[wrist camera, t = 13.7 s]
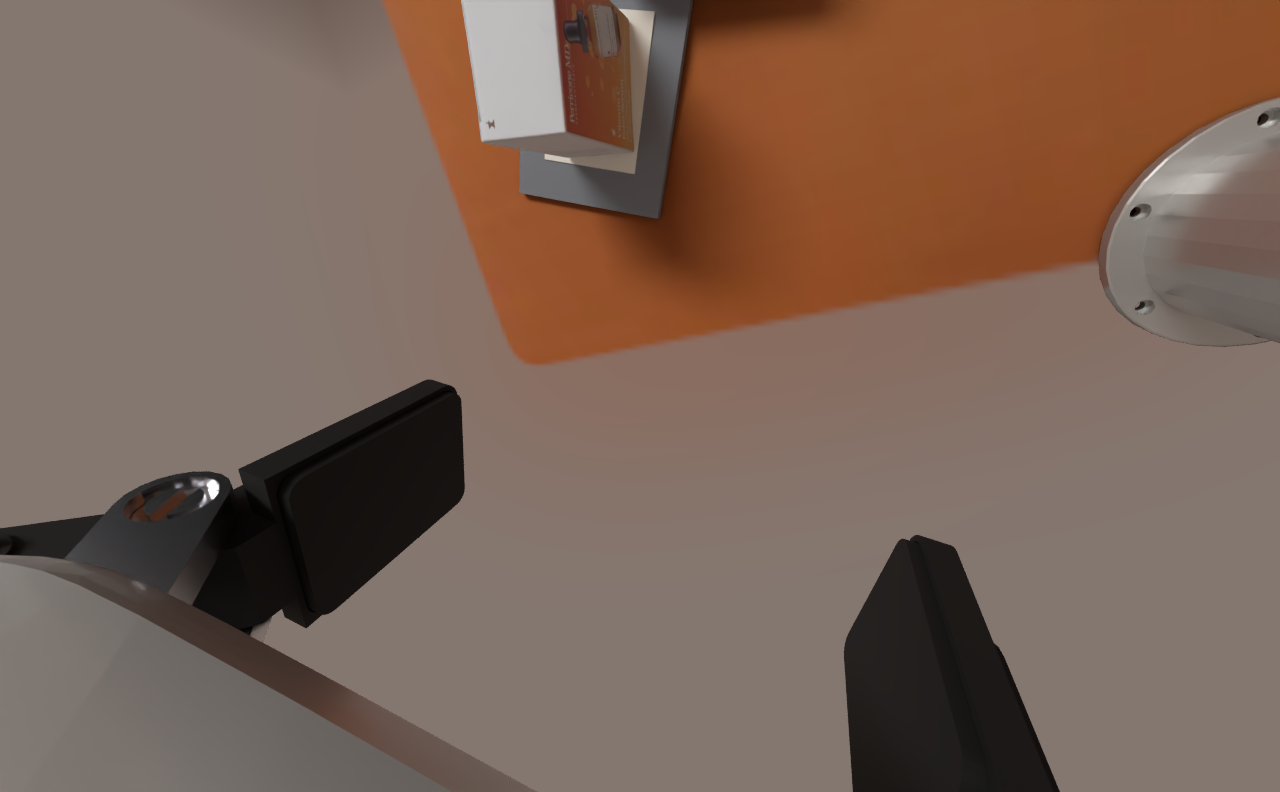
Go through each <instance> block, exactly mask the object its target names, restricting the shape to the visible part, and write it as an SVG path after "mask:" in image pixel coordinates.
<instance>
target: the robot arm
mask: <svg viewBox="0 0 1280 792" xmlns="http://www.w3.org/2000/svg"><path fill="white" fill-rule="evenodd" d="M1259 116H1260V117H1261V120H1260V122H1259V123H1258V124H1257V121H1258V118H1259ZM1134 207H1135V208H1136V212H1135V213H1134V215H1132V216H1130V212H1131V210H1132V209H1133V208H1134ZM1098 260H1099V273H1100V280H1101V282H1102V285H1103V288H1104V291H1105V294H1106V296H1107V297H1108V299H1109V300H1110V301H1111V303H1112V304H1113V305H1114V307H1115V308H1116V310H1117V311H1118V312H1119V313H1120V314H1122V315H1123V316H1124V317H1125V318H1127V319H1128V320H1129V321H1130V322H1131V323H1132V324H1135V325H1136V326H1138V327H1140V328H1142V329H1144V330H1146V331H1148V332H1150V333H1152V334H1156V335H1158V336H1161V337H1164V338H1166V339H1169V340H1172V341H1177V342H1182V343H1187V344H1192V345H1198V346H1220V347H1227V346H1239V345H1250V344H1258V343H1263V342H1267V341H1275V342H1278V343H1280V97H1278V98H1274V99H1270V100H1266V101H1262V102H1260V103H1257V104H1254V105H1251V106H1249V107H1246V108H1243V109H1240V110H1238V111H1235V112H1232V113H1229V114H1227V115H1226V116H1224V117H1222V118H1220V119H1218V120H1216V121H1214V122H1212V123H1210V124H1208V125H1206V126H1204V127H1202V128H1200V129H1198V130H1196V131H1195V132H1193V133H1192V134H1190V135H1189V136H1187V137H1186V138H1184V139H1183V140H1181V141H1180V142H1178V143H1177V144H1176V145H1174V146H1173V147H1171V148H1170V149H1168V150H1167V151H1166V152H1165V153H1164V154H1162V155H1161V156H1160V157H1159V158H1158V159H1157V160H1156V161H1154V162H1153V163H1152V164H1151V165H1150V166H1149V167H1148V168H1146V169H1145V170H1144V171H1143V172H1142V174H1141V175H1140V176H1139V177H1138V178H1137V179H1136V180H1135V182H1134V183H1133V184H1132V185H1131V186H1130V187H1129V189H1128V190H1127V191H1126V192H1125V193H1124V195H1123V197H1122V198H1121V200H1120V201H1119V203H1118V204H1117V206H1116V208H1115V209H1114V211H1113V212H1112V214H1111V216H1110V218H1109V221H1108V223H1107V226H1106V228H1105V231H1104V233H1103V236H1102V240H1101V246H1100V251H1099V257H1098ZM1139 302H1140V305H1139V307H1137V308H1135V307H1136V305H1137V304H1138V303H1139ZM461 408H462V407H461V398H460V397H459V396H458V395H457V392H456V390H455V388H454V387H452V386H450V385H447V384H443V383H440V382H437V381H434V380H425V381H423V382H420V383H419V384H416V385H414V386H412V387H410V388H408V389H406V390H404V391H402V392H400V393H398V394H395V395H393V396H391V397H389V398H387V399H385V400H383V401H381V402H379V403H377V404H374V405H372V406H370V407H368V408H366V409H364V410H362V411H360V412H358V413H355V414H353V415H351V416H349V417H347V418H345V419H343V420H341V421H339V422H337V423H334V424H332V425H330V426H328V427H326V428H324V429H322V430H320V431H318V432H316V433H313V434H311V435H309V436H307V437H305V438H303V439H301V440H299V441H297V442H295V443H293V444H290V445H288V446H286V447H284V448H282V449H280V450H278V451H276V452H274V453H271V454H269V455H267V456H265V457H264V458H261V459H259V460H257V461H255V462H253V463H251V464H248V465H246V466H244V467H242V468H240V469H239V473H240V476H241V480H242V483H243V485H242V486H240V487H238V488H236V489H234V490H233V488H232V485H231V482H230V480H229V478H227V477H225V476H224V475H222V474H219V473H214V472H209V471H208V472H207V471H206V472H205V471H204V472H187V473H181V474H175V475H171V476H167V477H163V478H160V479H156V480H154V481H151V482H149V483H146V484H144V485H141V486H139V487H138V488H136V489H134V490H132V491H130V492H128V493H127V494H125V495H124V496H123V497H121V498H120V499H119V500H118V501H117V502H115V503H114V504H113V505H112V506H111V508H110V509H109V510H108V511H107V512H106V513H105V514H103V515H95V516H88V517H81V518H74V519H67V520H59V521H51V522H45V523H37V524H31V525H23V526H16V527H8V528H0V792H536V791H534V790H533V789H531V788H529V787H527V786H525V785H524V784H522V783H520V782H518V781H516V780H515V779H513V778H511V777H509V776H507V775H505V774H504V773H502V772H500V771H498V770H496V769H494V768H493V767H491V766H489V765H487V764H485V763H483V762H482V761H480V760H478V759H476V758H474V757H472V756H471V755H468V754H467V753H465V752H463V751H462V750H460V749H458V748H456V747H454V746H452V745H450V744H449V743H447V742H445V741H443V740H441V739H440V738H438V737H436V736H434V735H432V734H430V733H429V732H426V731H425V730H423V729H421V728H419V727H418V726H416V725H414V724H412V723H410V722H408V721H407V720H405V719H403V718H401V717H399V716H397V715H396V714H394V713H392V712H390V711H388V710H386V709H384V708H382V707H381V706H379V705H377V704H375V703H374V702H372V701H370V700H368V699H366V698H364V697H363V696H361V695H358V694H357V693H355V692H353V691H351V690H349V689H348V688H346V687H344V686H342V685H340V684H339V683H337V682H335V681H333V680H331V679H329V678H327V677H326V676H324V675H322V674H320V673H318V672H316V671H314V670H313V669H310V668H309V667H307V666H305V665H303V664H301V663H299V662H298V661H296V660H294V659H292V658H290V657H288V656H286V655H284V654H283V653H281V652H279V651H277V650H275V649H273V648H271V647H270V646H268V645H266V644H264V643H263V641H264V638H265V635H266V632H267V629H268V626H269V624H270V621H271V618H272V616H273V615H274V614H276V613H277V612H278V611H279V610H281V609H282V610H283V613H284V616H285V617H286V618H287V619H289V620H291V621H293V622H295V623H297V624H299V625H301V626H303V627H305V628H307V627H309V625H311V624H312V623H313V622H314V621H315V620H317V619H318V618H319V617H320V616H321V615H325V614H329V613H331V612H332V611H334V610H335V609H336V608H337V607H339V606H340V605H341V604H342V603H343V602H345V601H346V600H347V599H348V598H349V597H350V596H351V595H353V594H354V593H355V592H356V591H357V590H358V589H360V588H361V587H362V586H363V585H364V584H365V583H367V582H368V581H369V580H370V579H371V578H372V577H373V576H375V575H376V574H377V573H378V572H379V571H380V570H382V569H383V568H384V567H385V566H386V565H387V564H389V562H391V561H392V560H393V559H394V558H395V557H397V556H398V555H399V554H400V553H401V552H402V551H403V550H405V549H406V548H407V547H408V546H409V545H410V544H412V543H413V542H414V541H415V540H416V539H417V538H419V537H420V536H421V535H422V534H423V533H424V532H425V531H427V530H428V529H429V528H430V527H431V526H432V525H434V523H436V522H437V521H438V520H439V519H440V518H442V517H443V516H444V515H445V514H446V513H447V512H449V511H450V510H451V509H452V508H453V507H454V506H455V505H457V504H458V503H459V501H460V500H461V498H462V496H463V494H464V489H465V484H464V459H463V435H462V409H461ZM844 662H845V676H846V693H847V708H848V723H849V737H850V753H851V768H852V784H853V792H1060V791H1059V789H1058V786H1057V784H1056V781H1055V779H1054V777H1053V774H1052V772H1051V769H1050V767H1049V765H1048V762H1047V760H1046V757H1045V755H1044V752H1043V750H1042V748H1041V745H1040V743H1039V740H1038V738H1037V735H1036V733H1035V731H1034V728H1033V726H1032V723H1031V721H1030V719H1029V716H1028V714H1027V711H1026V709H1025V706H1024V704H1023V702H1022V699H1021V697H1020V694H1019V692H1018V689H1017V687H1016V684H1015V682H1014V680H1013V677H1012V675H1011V672H1010V670H1009V668H1008V665H1007V663H1006V660H1005V658H1004V656H1003V654H1002V652H1001V651H1000V649H999V647H998V646H997V645H995V644H994V643H993V640H992V638H991V635H990V633H989V630H988V628H987V625H986V623H985V621H984V618H983V616H982V613H981V610H980V608H979V605H978V603H977V600H976V598H975V596H974V593H973V590H972V588H971V586H970V583H969V581H968V578H967V576H966V573H965V571H964V568H963V566H962V563H961V561H960V558H959V556H958V553H957V551H956V549H955V548H954V547H953V546H951V545H948V544H944V543H942V542H939V541H935V540H932V539H929V538H926V537H923V536H920V535H915V536H913V537H912V538H911V539H910V541H909V540H905V539H901V540H899V541H898V543H897V545H896V546H895V548H894V550H893V552H892V554H891V556H890V558H889V559H888V561H887V563H886V565H885V567H884V569H883V571H882V572H881V574H880V576H879V578H878V580H877V582H876V583H875V585H874V587H873V589H872V591H871V593H870V594H869V596H868V598H867V600H866V602H865V604H864V606H863V608H862V609H861V611H860V613H859V615H858V617H857V619H856V620H855V622H854V624H853V626H852V628H851V630H850V632H849V634H848V636H847V638H846V642H845V648H844Z"/></svg>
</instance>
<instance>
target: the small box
mask: <svg viewBox="0 0 1280 792" xmlns="http://www.w3.org/2000/svg"><path fill="white" fill-rule="evenodd" d="M461 2H462V9H463V15H464V21H465V28H466V34H467V40H468V47H469V54H470V60H471V66H472V73H473V80H474V87H475V94H476V101H477V108H478V116H479V127H480V136H481V141H482V142H483V143H486V144H491V145H497V146H502V147H507V148H514V149H520V150H527V151H532V152H538V153H543V154H549V155H554V156H560V157H565V158H571V157H584V156H597V155H610V154H623V153H633V152H634V138H633V124H632V99H631V64H630V32H629V20H628V18H627V17H626V16H625V15H624V14H623V13H622V12H621V11H620V10H619V9H618V8H617V7H616V6H615V5H614V4H613V3H612V2H611V1H610V0H461Z"/></svg>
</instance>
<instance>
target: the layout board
mask: <svg viewBox="0 0 1280 792" xmlns="http://www.w3.org/2000/svg"><path fill="white" fill-rule="evenodd" d="M610 1H611V2H612V3H613V4H614V5H615V6H616V7H617V8H618V9H619V10H620V11H621V12H622V13H623V14H624V15H625V16H626V17H627V18H628V20H629V32H630V64H631V99H632V124H633V138H634V152H633V153H623V154H610V155H597V156H584V157H571V158H565V157H560V156H554V155H549V154H543V153H538V152H532V151H527V150H520V186H519V193H523V194H528V195H533V196H539V197H544V198H549V199H554V200H560V201H565V202H570V203H576V204H581V205H586V206H591V207H597V208H602V209H607V210H613V211H618V212H623V213H629V214H634V215H639V216H644V217H650V218H655V219H660V215H661V208H662V202H663V195H664V189H665V182H666V175H667V169H668V162H669V156H670V149H671V143H672V136H673V130H674V123H675V117H676V110H677V104H678V97H679V91H680V84H681V78H682V71H683V65H684V58H685V52H686V45H687V39H688V32H689V25H690V19H691V12H692V6H693V0H610Z"/></svg>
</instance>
